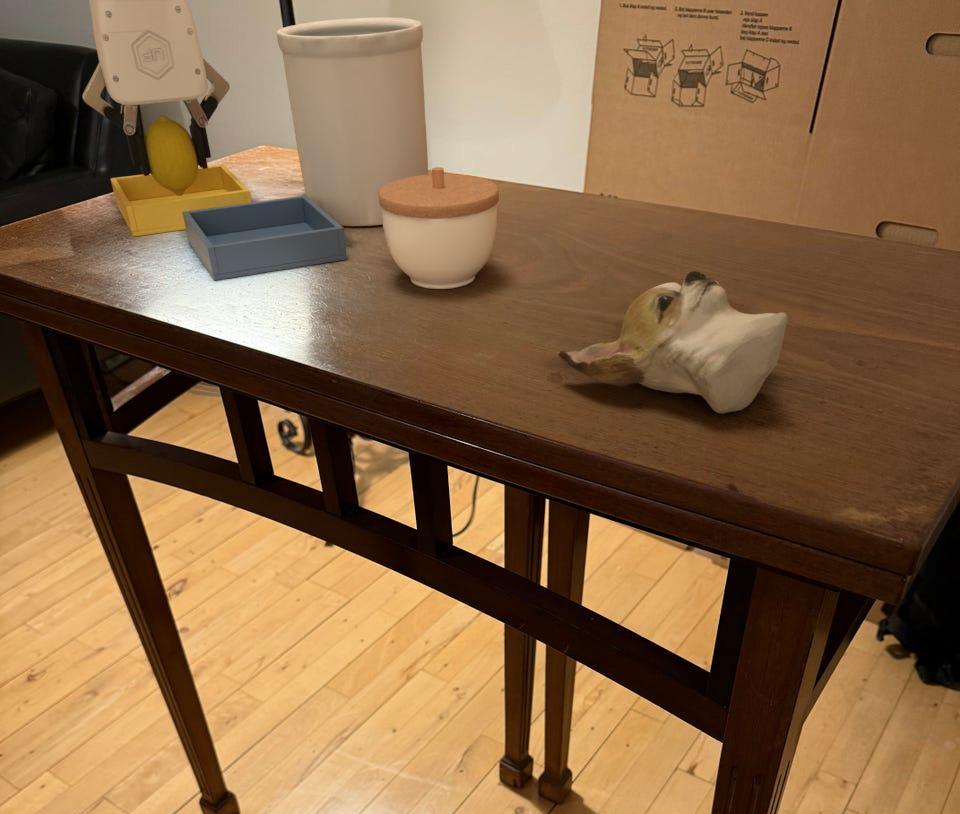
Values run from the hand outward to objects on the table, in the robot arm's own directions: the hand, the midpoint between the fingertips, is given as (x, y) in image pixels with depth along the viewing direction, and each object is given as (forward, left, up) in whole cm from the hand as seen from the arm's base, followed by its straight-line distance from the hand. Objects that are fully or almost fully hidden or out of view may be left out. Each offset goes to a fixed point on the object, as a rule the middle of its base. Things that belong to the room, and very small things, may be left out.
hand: (173, 167), depth 101 cm
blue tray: (+5, -18, -5) cm, 19 cm away
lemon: (0, 0, -3) cm, 3 cm away
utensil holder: (+19, -9, -5) cm, 22 cm away
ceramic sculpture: (+24, -64, -5) cm, 69 cm away
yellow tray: (0, 0, -5) cm, 5 cm away
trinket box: (+18, -34, -5) cm, 39 cm away
